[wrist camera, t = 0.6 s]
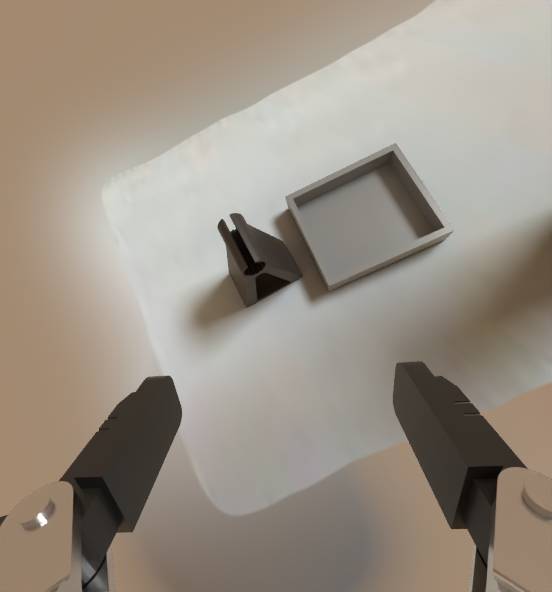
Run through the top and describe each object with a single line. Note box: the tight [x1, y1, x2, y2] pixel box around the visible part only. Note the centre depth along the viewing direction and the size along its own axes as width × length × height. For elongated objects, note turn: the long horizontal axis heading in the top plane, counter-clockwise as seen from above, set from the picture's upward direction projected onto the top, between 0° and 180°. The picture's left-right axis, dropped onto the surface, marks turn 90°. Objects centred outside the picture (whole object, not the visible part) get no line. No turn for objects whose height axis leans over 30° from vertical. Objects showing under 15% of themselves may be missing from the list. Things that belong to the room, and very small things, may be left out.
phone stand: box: [218, 213, 303, 307], centre depth 32 cm, size 9×6×12 cm, turn 117°
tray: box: [286, 143, 455, 291], centre depth 35 cm, size 16×14×3 cm
